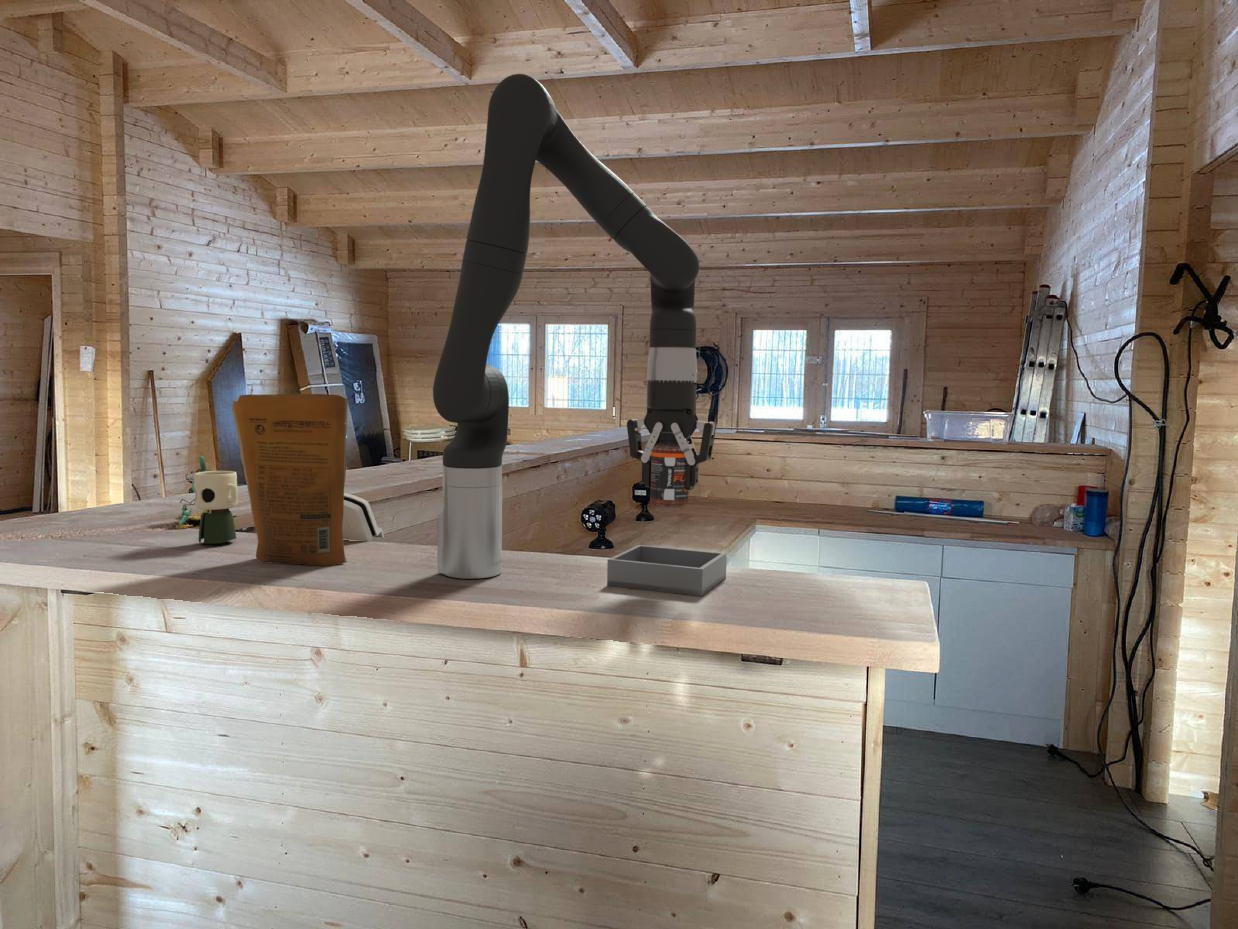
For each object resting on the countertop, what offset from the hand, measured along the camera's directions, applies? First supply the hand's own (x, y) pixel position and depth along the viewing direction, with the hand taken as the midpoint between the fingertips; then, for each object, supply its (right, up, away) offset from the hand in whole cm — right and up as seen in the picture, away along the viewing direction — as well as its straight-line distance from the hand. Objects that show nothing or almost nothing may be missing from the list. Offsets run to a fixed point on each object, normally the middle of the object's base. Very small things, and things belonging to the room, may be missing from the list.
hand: (669, 487), depth 135 cm
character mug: (-81, -11, +25) cm, 86 cm away
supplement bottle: (0, -3, 0) cm, 3 cm away
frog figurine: (-95, -9, +48) cm, 106 cm away
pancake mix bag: (-61, -13, +11) cm, 63 cm away
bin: (0, -15, +2) cm, 15 cm away
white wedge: (-62, -11, +34) cm, 71 cm away
